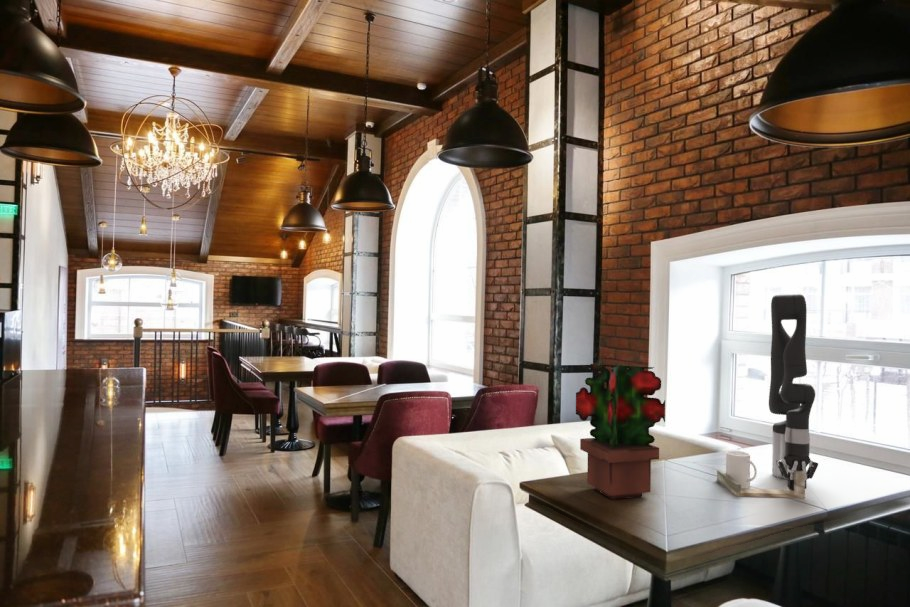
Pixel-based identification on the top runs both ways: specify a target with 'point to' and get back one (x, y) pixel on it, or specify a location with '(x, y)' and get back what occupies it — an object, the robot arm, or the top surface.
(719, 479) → the bracket
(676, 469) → the top surface
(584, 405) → the potted plant
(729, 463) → the mug
